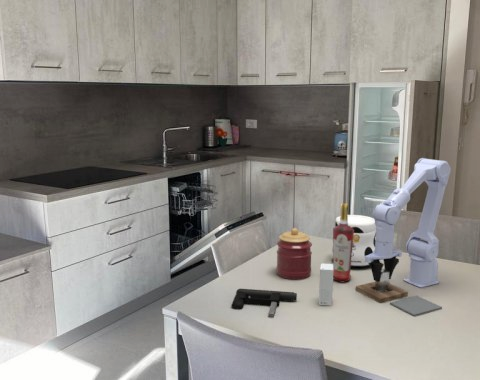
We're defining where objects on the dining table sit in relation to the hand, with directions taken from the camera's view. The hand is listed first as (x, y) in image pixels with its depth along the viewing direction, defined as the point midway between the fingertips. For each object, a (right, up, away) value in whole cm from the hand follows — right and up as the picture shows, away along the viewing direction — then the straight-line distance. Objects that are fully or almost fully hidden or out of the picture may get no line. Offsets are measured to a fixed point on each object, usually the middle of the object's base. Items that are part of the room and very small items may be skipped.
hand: (382, 279), depth 162 cm
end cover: (0, -2, 0) cm, 2 cm away
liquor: (-11, -3, +13) cm, 17 cm away
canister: (-28, -2, +19) cm, 33 cm away
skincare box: (-20, -6, -6) cm, 22 cm away
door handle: (-40, -7, -9) cm, 42 cm away
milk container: (-2, +1, +31) cm, 31 cm away
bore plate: (0, -5, +1) cm, 5 cm away
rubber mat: (+8, -7, -10) cm, 14 cm away
